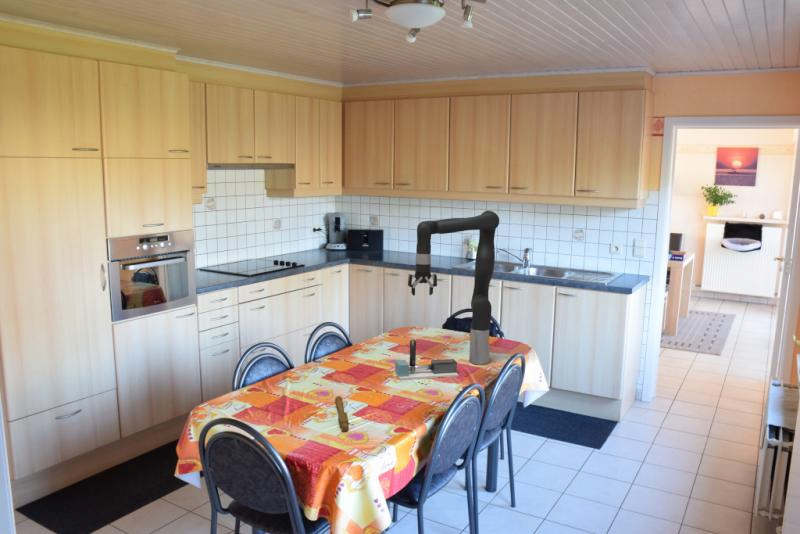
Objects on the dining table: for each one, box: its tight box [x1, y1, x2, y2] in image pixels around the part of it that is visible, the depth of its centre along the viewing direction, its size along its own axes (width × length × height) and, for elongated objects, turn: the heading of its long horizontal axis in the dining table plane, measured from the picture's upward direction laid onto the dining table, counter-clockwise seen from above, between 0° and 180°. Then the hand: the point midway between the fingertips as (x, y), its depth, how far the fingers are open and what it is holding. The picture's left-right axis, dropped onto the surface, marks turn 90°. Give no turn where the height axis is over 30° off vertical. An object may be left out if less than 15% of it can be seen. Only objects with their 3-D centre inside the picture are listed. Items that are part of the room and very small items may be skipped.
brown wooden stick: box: [334, 395, 349, 432], centre depth 249 cm, size 3×3×30 cm
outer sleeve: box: [430, 358, 458, 374], centre depth 302 cm, size 11×5×5 cm, turn 103°
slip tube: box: [408, 339, 434, 372], centre depth 298 cm, size 17×4×15 cm, turn 103°
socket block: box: [394, 359, 409, 377], centre depth 297 cm, size 4×8×5 cm, turn 13°
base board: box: [393, 369, 460, 381], centre depth 300 cm, size 28×11×1 cm, turn 103°
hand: (422, 295), depth 317 cm, fingers open, 8 cm apart
